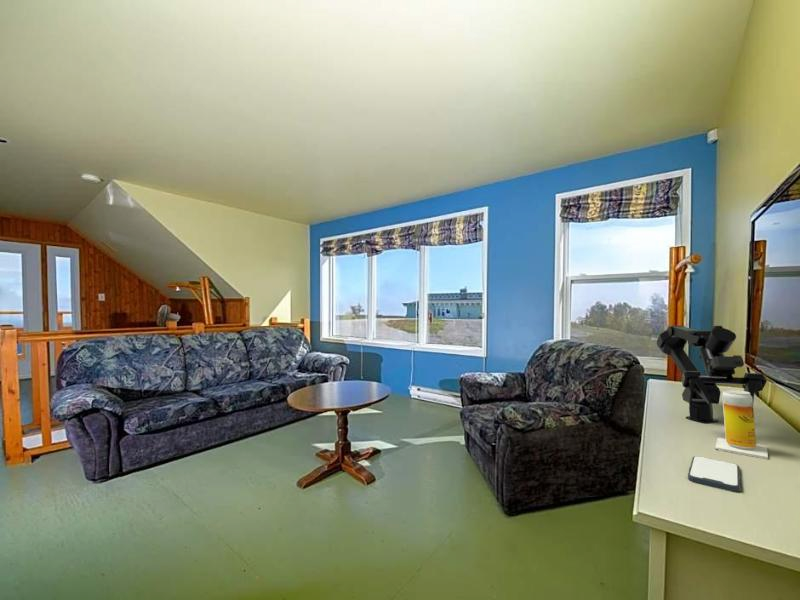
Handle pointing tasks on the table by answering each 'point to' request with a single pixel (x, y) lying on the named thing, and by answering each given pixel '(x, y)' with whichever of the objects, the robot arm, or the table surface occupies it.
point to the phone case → (715, 473)
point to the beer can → (739, 419)
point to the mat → (758, 451)
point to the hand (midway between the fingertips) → (730, 405)
